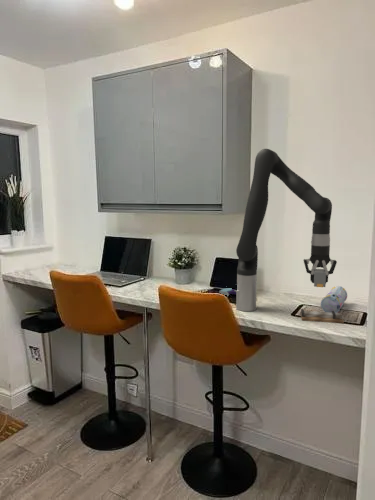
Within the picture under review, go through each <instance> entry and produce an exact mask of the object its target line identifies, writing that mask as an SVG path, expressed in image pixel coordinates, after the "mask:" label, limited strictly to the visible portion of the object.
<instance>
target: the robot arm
mask: <svg viewBox="0 0 375 500" xmlns="http://www.w3.org/2000/svg"><path fill="white" fill-rule="evenodd" d="M271 174H272V175H273V176H275V177H277V179H279V180H280V181H281V182H282V183H283V184H284V185H285V186H286V187H287V188H288V190H290V191H291V192H292V193H293V194H294V195H295V196H297V197H298V198H299V199H300V200H302V201H303V202H304V204H305V205H306V206H307V207H308V208H309V209H310V210H311V211H312V212H314V220H313V222H312V229H311V230H312V233H311V241H310V244H311V245H310V246H311V248H310V257H309V258H306V259H305V258H304V259H303V264H304V267H305V270H306V271H305V272H306V273H307V274H309V276H310V282H311V284H314V271H315V270H316V269H319V268H320V269H324V271H325V272H326V283H328V282H329V275H333V274H334V271H335V268H336V266H337V264H338V262H337V260H336V259H331V257H330V250H331V248H330V247H331V246H330V245H331V235H330V233H331V220H332V219H331V218H332V211H333V210H332V209H333V204H332V201H331V200H330V199H329V198H327V197H324V196H322V195H321V194H320V193H319V192H317V190H316V189H315V187H314V186H313V185H311V184H310V183H309V182H307V181H306V180H305V179H304V178H303V177H301V176H300V175H299V174H297V173H296V172H294V171H293V170H292V169H291V168H290V167H289V166H288V165H287V164H286V163H285V162H284V161H283V160H282V159H281V157H280V156H279V155H278V153H277V152H275V151H274V150H271V149H270V148H263V149H261V150H260V151H258V153H257V154H256V156H255V159H254V167H253V177H252V182H251V185H250V190H249V194H248V198H247V202H246V207H245V212H244V218H243V224H242V225H243V226H242V231H241V235H240V238H239V240H238V244H237V246H236V252H235V253H236V256H237V258H238V260H237V263H238V264H237V268H236V285H237V291H236V294H235V295H236V300H235V301H236V302H235V306H236V308H235V310H237V311H242V312H253V311H256V310H257V278H258V277H257V275H258V274H257V273H258V271H257V270H258V260H259V259H258V257H259V256H258V255H259V251H258V245H257V242H258V241H257V239H258V236H259V232H260V229H261V227H262V225H263V221H264V219H265V216H266V212H267V209H268V203H269V181H270V178H271ZM310 263H311V264H312V267H311V269H310V268H309V264H310ZM329 263H330V265H331V266H330V269H329V270H328V268H327V266H328V264H329Z"/></svg>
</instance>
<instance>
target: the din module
mask: <svg viewBox="0 0 375 500" xmlns="http://www.w3.org/2000/svg"><path fill="white" fill-rule="evenodd" d="M326 285H327V282H326V272H325V271H324V268H316V270H315V271H314V283H313V286H314V287H316V288H326Z"/></svg>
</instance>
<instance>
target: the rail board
mask: <svg viewBox="0 0 375 500" xmlns="http://www.w3.org/2000/svg"><path fill="white" fill-rule="evenodd" d="M300 318H301V321H303V322H305V321H306V322H319V323H320V322H321V323H336V324H344V323H345V321H344V319H343V318H344V316H343V313H342V312H338V313H335V312H334V311H332V312H324V311H313V310H312V311H311V310H304V308H301V309H300Z"/></svg>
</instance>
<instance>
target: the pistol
mask: <svg viewBox="0 0 375 500" xmlns="http://www.w3.org/2000/svg"><path fill="white" fill-rule="evenodd" d="M234 290H235V289H232V288H222V289H220V290H219V291H218V293H221V294H224V295H227V297H229V295H230V294H232V295H236V291H234ZM230 296H231V295H230Z"/></svg>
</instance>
